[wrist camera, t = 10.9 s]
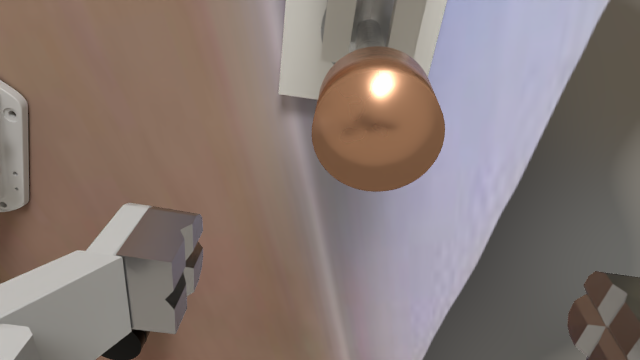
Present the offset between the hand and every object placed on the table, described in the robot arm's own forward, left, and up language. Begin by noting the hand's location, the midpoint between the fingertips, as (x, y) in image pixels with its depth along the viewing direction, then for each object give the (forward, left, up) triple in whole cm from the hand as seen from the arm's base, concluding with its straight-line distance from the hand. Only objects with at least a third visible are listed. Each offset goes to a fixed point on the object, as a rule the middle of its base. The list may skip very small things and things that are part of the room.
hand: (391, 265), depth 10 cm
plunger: (0, 0, -23) cm, 23 cm away
